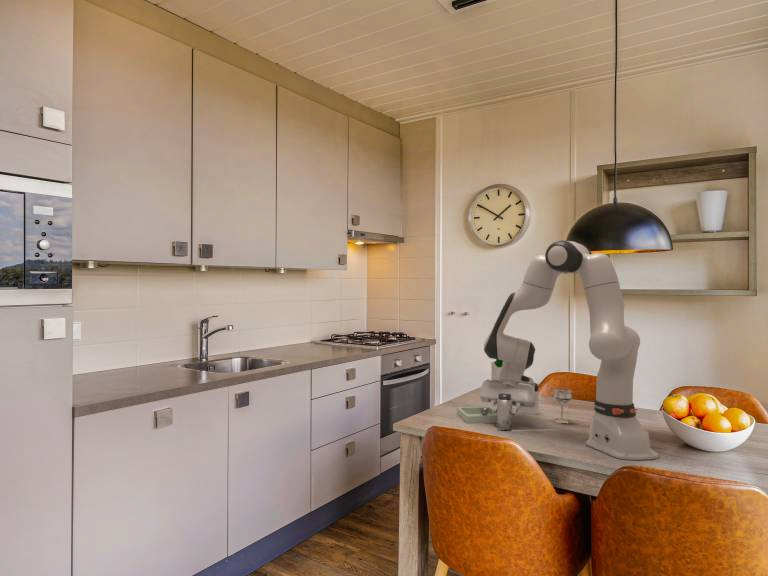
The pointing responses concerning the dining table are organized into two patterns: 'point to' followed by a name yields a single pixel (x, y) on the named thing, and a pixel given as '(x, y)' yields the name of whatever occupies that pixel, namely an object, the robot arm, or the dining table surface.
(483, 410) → the ball
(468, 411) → the tray
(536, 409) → the jar
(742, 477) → the dining table surface
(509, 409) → the shaker
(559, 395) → the wineglass
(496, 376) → the milk carton
